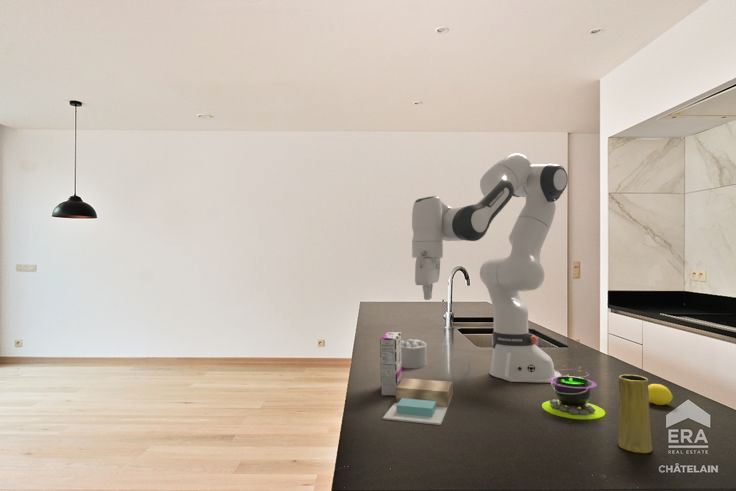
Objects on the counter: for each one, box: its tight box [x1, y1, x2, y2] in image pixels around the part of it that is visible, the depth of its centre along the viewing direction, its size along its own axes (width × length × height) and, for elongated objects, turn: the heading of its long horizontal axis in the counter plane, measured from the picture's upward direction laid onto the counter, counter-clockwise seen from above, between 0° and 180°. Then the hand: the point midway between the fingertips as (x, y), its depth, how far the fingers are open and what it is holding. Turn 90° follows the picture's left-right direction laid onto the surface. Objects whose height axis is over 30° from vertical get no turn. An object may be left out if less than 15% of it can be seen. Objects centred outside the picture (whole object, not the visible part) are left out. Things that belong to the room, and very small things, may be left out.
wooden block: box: [395, 377, 454, 408], centre depth 128 cm, size 14×10×4 cm
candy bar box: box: [379, 331, 403, 397], centre depth 136 cm, size 11×5×16 cm, turn 168°
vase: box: [617, 374, 653, 454], centre depth 95 cm, size 6×6×14 cm
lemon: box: [648, 383, 674, 406], centre depth 122 cm, size 7×5×5 cm
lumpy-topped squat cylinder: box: [401, 338, 428, 369], centre depth 169 cm, size 10×13×9 cm
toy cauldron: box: [541, 364, 606, 420], centre depth 119 cm, size 15×15×11 cm
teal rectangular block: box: [396, 398, 436, 417], centre depth 116 cm, size 9×6×2 cm, turn 73°
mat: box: [382, 402, 448, 426], centre depth 116 cm, size 14×12×1 cm
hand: (427, 299), depth 134 cm, fingers closed
